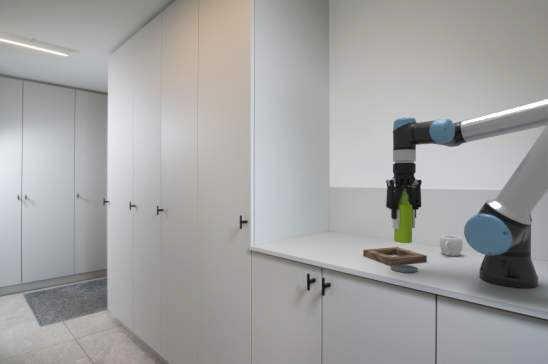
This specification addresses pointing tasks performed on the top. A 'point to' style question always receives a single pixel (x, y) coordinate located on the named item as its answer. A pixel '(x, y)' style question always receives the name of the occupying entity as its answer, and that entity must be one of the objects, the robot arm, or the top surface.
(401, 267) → the coaster
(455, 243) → the mug
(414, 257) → the pocket frame
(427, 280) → the top surface
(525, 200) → the robot arm
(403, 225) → the soap dispenser
